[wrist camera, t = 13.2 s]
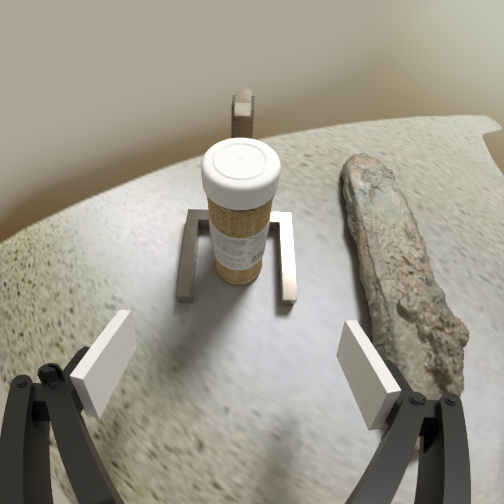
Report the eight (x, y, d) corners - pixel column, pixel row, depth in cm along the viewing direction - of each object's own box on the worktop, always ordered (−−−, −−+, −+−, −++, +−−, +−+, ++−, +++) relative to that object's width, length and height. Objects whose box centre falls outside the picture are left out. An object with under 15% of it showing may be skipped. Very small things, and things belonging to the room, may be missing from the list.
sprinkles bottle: (240, 236, 28) (245, 125, 17) (272, 267, 27) (298, 163, 15) (204, 262, 27) (184, 156, 15) (235, 296, 25) (236, 203, 14)
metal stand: (293, 305, 25) (353, 201, 12) (179, 301, 25) (123, 193, 12) (287, 213, 30) (318, 90, 17) (191, 210, 30) (170, 85, 17)
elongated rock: (383, 175, 37) (320, 173, 36) (395, 148, 32) (327, 143, 32) (456, 429, 18) (377, 461, 18) (488, 426, 14) (403, 469, 14)
